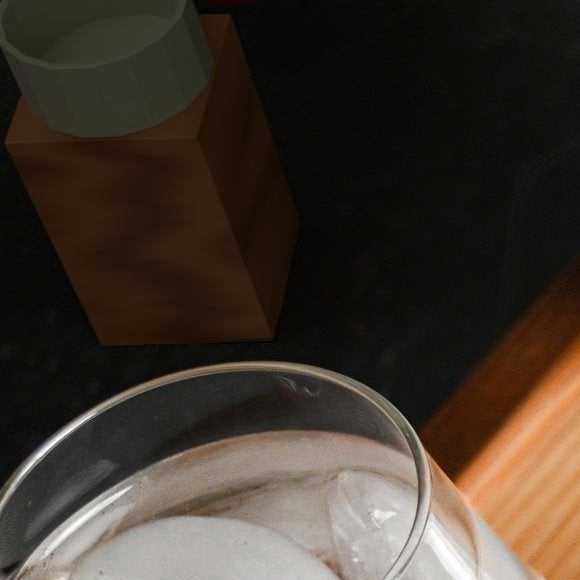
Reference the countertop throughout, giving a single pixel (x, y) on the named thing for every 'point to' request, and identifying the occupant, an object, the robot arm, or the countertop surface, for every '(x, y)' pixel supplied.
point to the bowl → (105, 61)
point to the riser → (170, 213)
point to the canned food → (229, 2)
